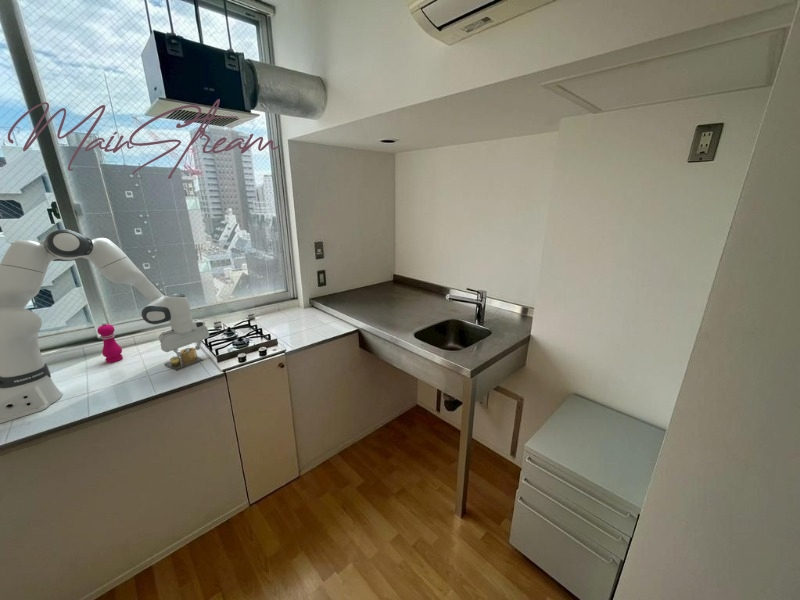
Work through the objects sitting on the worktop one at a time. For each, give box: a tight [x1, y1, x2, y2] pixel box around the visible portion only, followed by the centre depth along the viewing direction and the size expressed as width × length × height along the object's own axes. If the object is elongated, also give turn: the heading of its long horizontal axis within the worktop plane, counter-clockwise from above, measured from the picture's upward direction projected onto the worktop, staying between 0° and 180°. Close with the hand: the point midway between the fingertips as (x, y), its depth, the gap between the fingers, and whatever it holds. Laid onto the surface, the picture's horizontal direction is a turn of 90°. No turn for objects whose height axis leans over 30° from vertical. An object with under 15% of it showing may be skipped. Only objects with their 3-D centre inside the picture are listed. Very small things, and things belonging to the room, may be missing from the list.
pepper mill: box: [97, 321, 124, 364], centre depth 152 cm, size 7×7×20 cm
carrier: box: [164, 347, 204, 372], centre depth 151 cm, size 12×11×6 cm
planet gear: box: [179, 347, 198, 362], centre depth 153 cm, size 6×6×4 cm
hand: (189, 352), depth 153 cm, fingers open, 7 cm apart
